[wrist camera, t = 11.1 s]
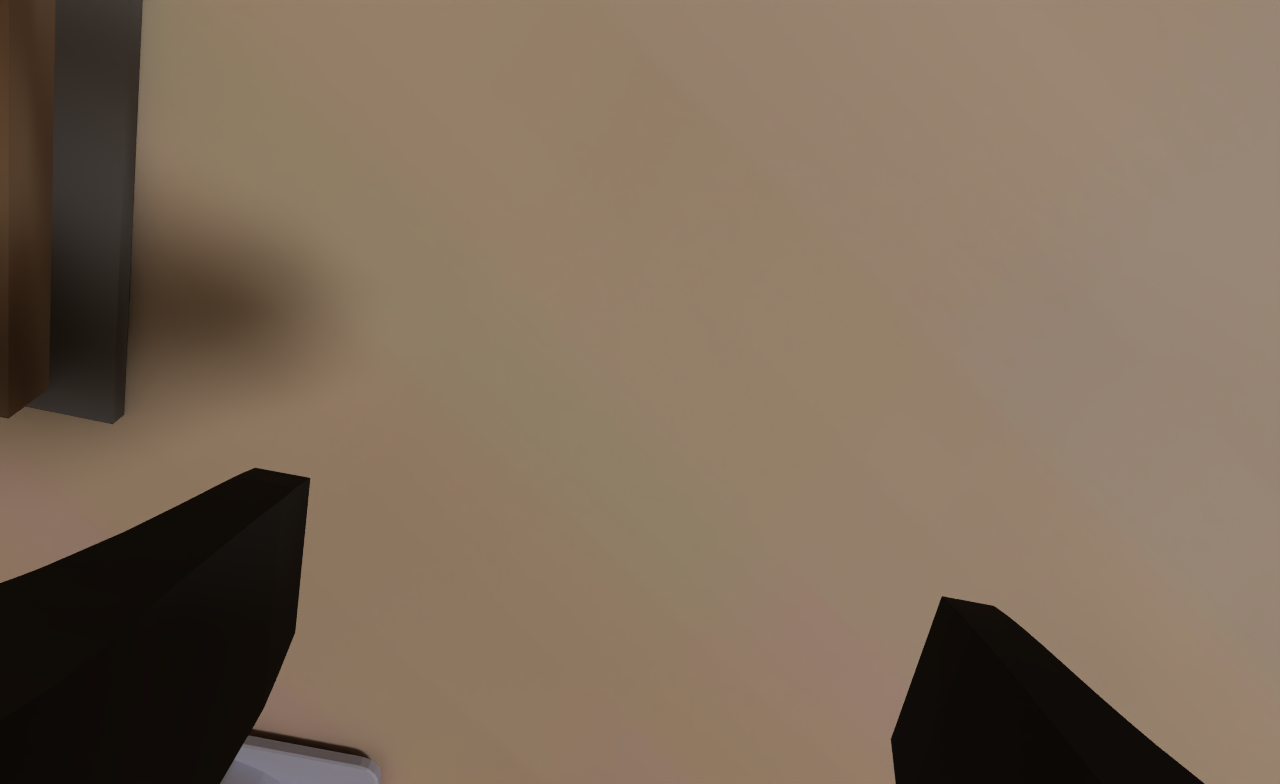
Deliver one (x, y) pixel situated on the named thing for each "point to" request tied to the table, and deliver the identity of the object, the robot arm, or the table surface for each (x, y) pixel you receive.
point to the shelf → (67, 202)
